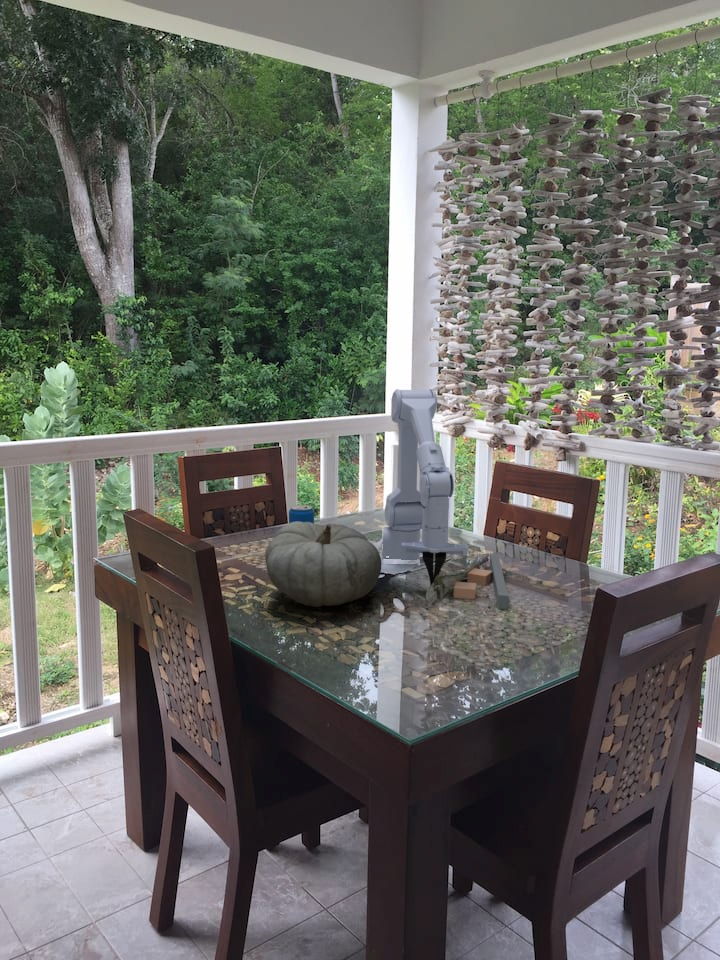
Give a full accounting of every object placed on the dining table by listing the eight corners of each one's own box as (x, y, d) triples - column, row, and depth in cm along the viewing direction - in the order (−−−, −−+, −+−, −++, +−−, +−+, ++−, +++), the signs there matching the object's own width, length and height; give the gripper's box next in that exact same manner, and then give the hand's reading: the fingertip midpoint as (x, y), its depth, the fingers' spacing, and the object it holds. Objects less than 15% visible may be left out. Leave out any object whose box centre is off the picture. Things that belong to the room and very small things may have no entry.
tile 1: (453, 598, 179) (454, 587, 178) (455, 592, 183) (456, 581, 183) (474, 600, 178) (475, 589, 178) (476, 594, 182) (476, 583, 182)
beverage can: (318, 551, 214) (319, 506, 211) (304, 557, 208) (304, 511, 206) (298, 547, 217) (298, 503, 215) (283, 553, 212) (283, 507, 210)
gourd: (298, 627, 160) (298, 541, 157) (242, 592, 180) (241, 515, 177) (401, 605, 174) (403, 525, 170) (339, 575, 194) (339, 503, 191)
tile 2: (467, 583, 190) (467, 573, 189) (474, 578, 194) (474, 568, 193) (485, 586, 188) (485, 576, 187) (492, 581, 191) (492, 571, 191)
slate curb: (497, 608, 172) (498, 595, 171) (489, 565, 203) (490, 553, 203) (507, 609, 172) (508, 595, 171) (497, 565, 203) (498, 554, 202)
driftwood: (428, 611, 170) (429, 588, 170) (417, 609, 172) (418, 586, 171) (490, 567, 202) (491, 548, 201) (480, 566, 203) (481, 546, 202)
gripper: (401, 528, 177) (399, 589, 180) (469, 531, 176) (466, 592, 178) (402, 521, 184) (401, 579, 186) (468, 523, 182) (465, 582, 185)
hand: (433, 584), depth 183 cm, fingers closed
